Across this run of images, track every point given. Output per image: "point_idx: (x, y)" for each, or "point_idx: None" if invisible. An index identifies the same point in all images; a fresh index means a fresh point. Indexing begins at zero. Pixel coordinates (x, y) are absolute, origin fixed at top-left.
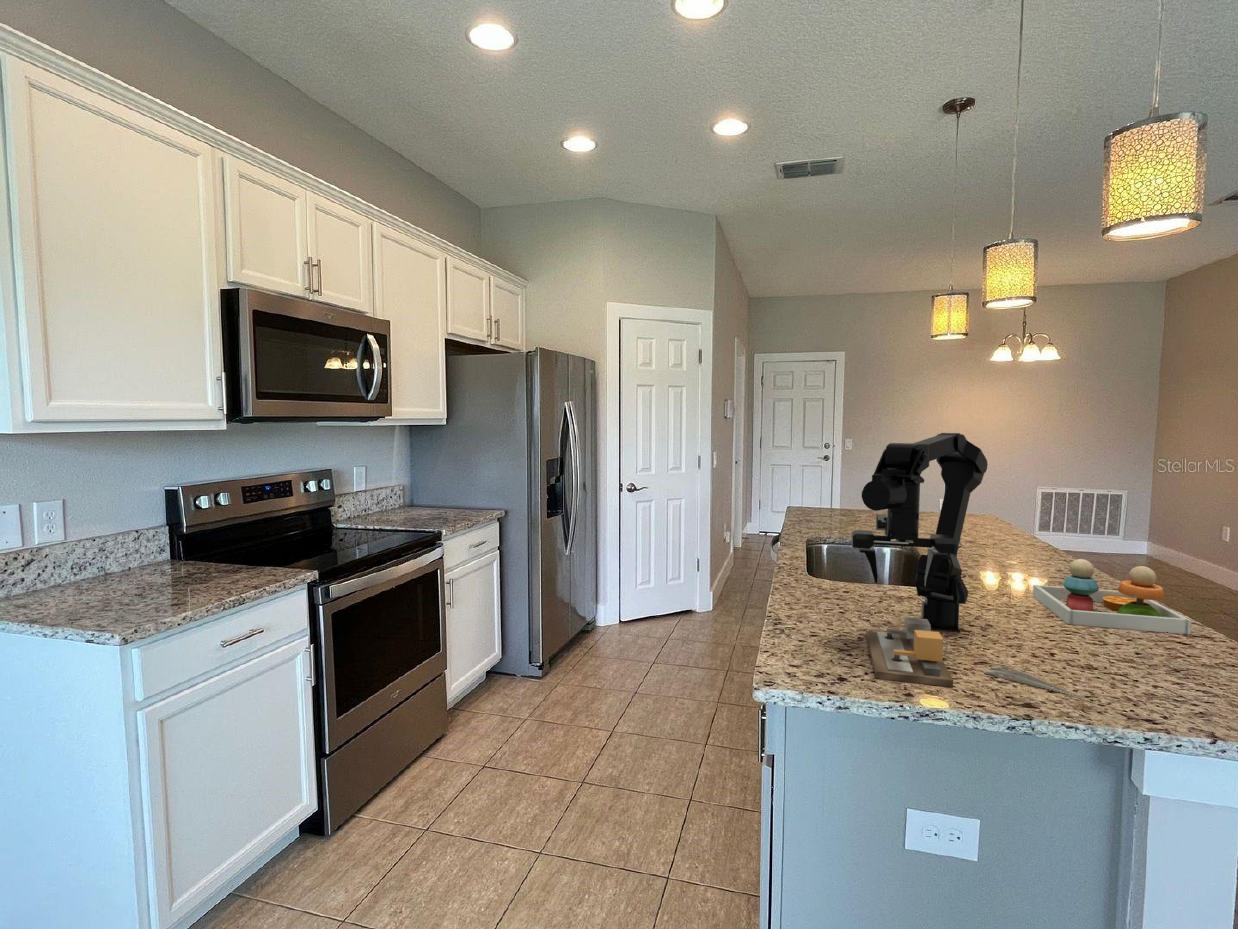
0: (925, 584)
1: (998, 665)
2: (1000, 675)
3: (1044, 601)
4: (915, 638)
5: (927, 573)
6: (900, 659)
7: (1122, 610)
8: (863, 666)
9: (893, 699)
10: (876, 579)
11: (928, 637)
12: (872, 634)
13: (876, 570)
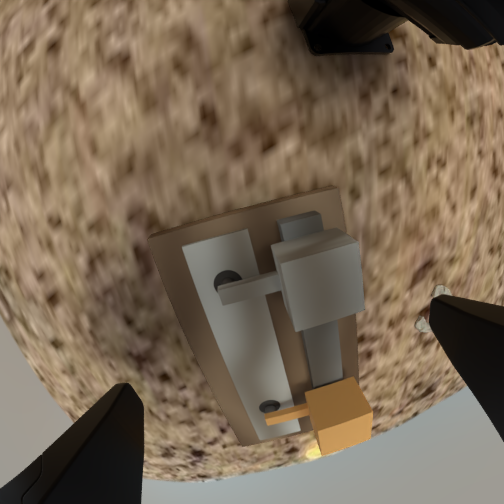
0: (435, 331)
1: (445, 290)
2: None
3: None
4: (315, 430)
5: (481, 390)
6: (276, 402)
7: None
8: (209, 412)
9: (275, 464)
10: (139, 428)
11: (343, 447)
12: (172, 261)
13: (138, 495)
